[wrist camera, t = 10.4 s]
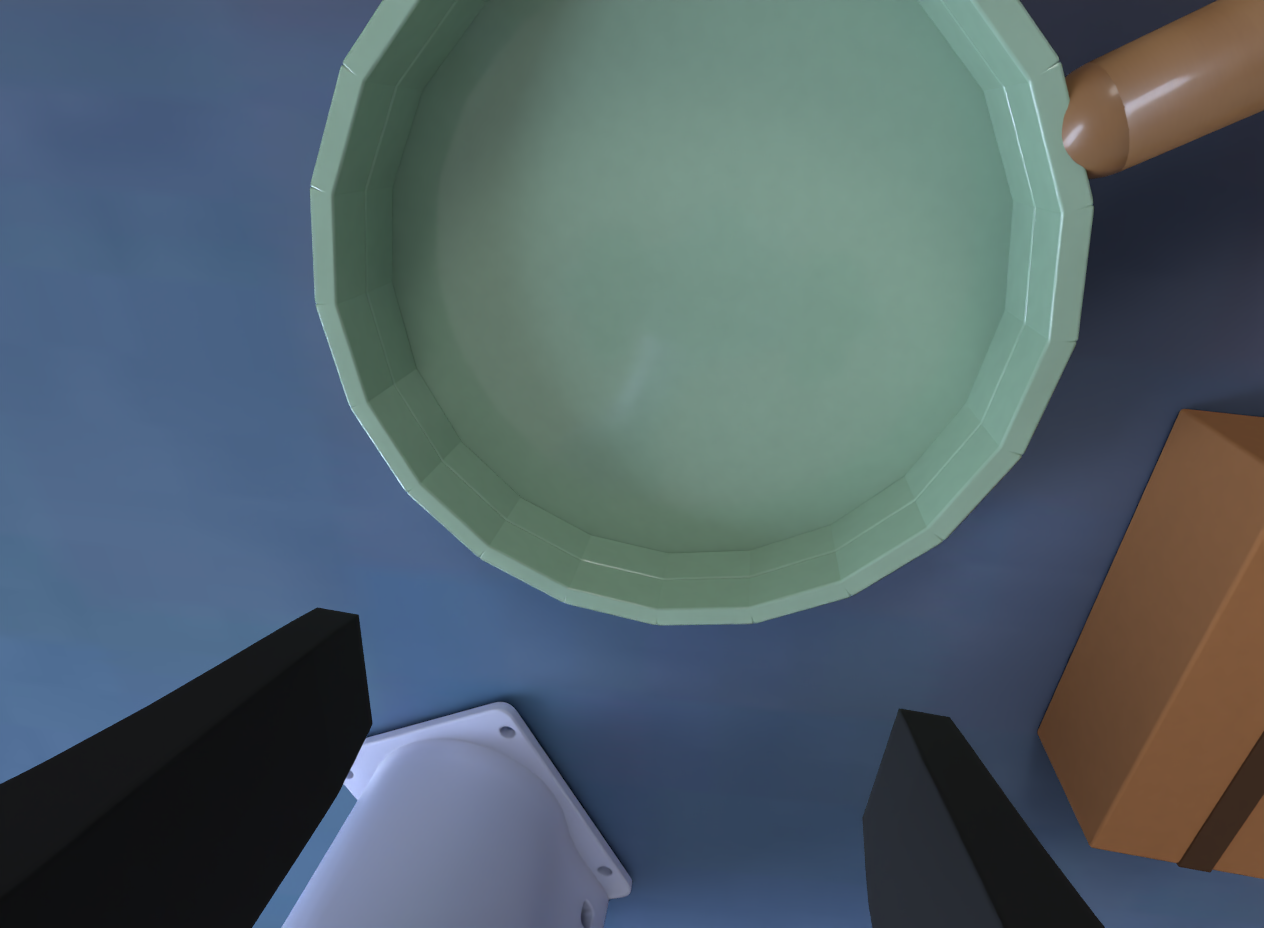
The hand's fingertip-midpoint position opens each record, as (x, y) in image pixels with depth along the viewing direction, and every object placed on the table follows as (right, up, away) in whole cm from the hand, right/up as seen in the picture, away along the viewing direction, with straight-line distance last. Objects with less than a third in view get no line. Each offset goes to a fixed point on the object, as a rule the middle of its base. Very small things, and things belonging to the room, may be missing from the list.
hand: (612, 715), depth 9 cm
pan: (+1, +7, +7) cm, 10 cm away
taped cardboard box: (+14, 0, +8) cm, 16 cm away
